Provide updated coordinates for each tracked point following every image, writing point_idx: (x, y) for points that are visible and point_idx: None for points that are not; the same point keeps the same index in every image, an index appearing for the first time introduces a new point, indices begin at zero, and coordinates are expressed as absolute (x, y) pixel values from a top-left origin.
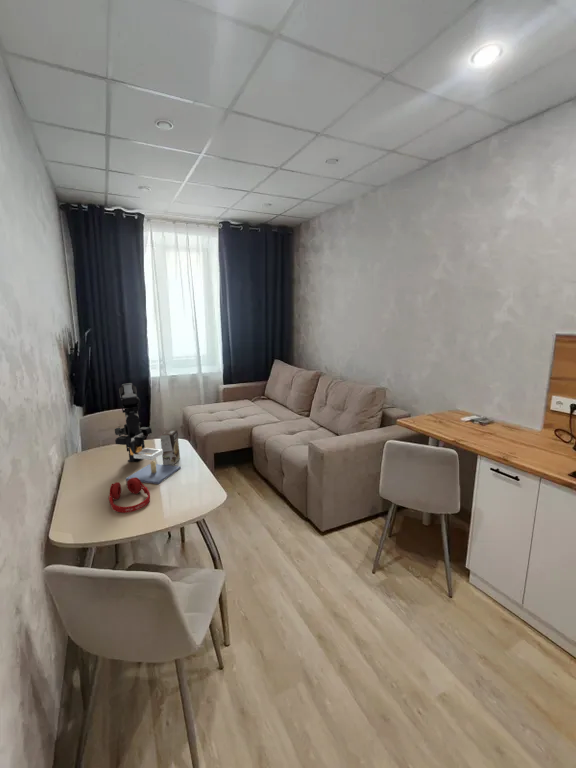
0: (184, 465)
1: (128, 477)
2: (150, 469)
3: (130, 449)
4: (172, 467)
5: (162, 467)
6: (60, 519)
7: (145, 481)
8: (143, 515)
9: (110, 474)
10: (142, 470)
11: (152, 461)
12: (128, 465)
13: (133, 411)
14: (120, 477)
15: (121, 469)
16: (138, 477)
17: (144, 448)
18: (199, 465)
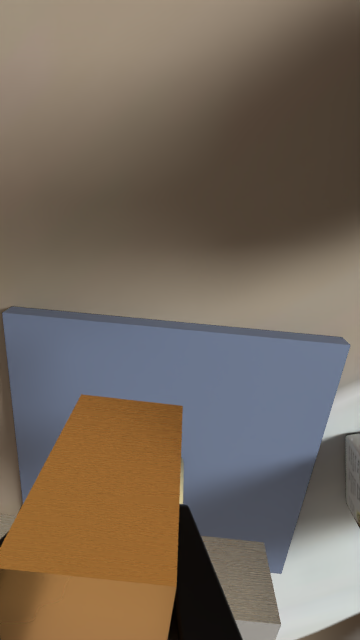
0: (326, 561)
1: (24, 326)
2: (211, 414)
3: (28, 507)
4: (259, 539)
5: (257, 480)
6: None
7: (23, 470)
8: None
9: (82, 16)
10: (182, 362)
11: None
12: (356, 72)
13: None
14: (47, 210)
15: (233, 63)
16: (48, 406)
17: (244, 625)
18: (322, 626)
